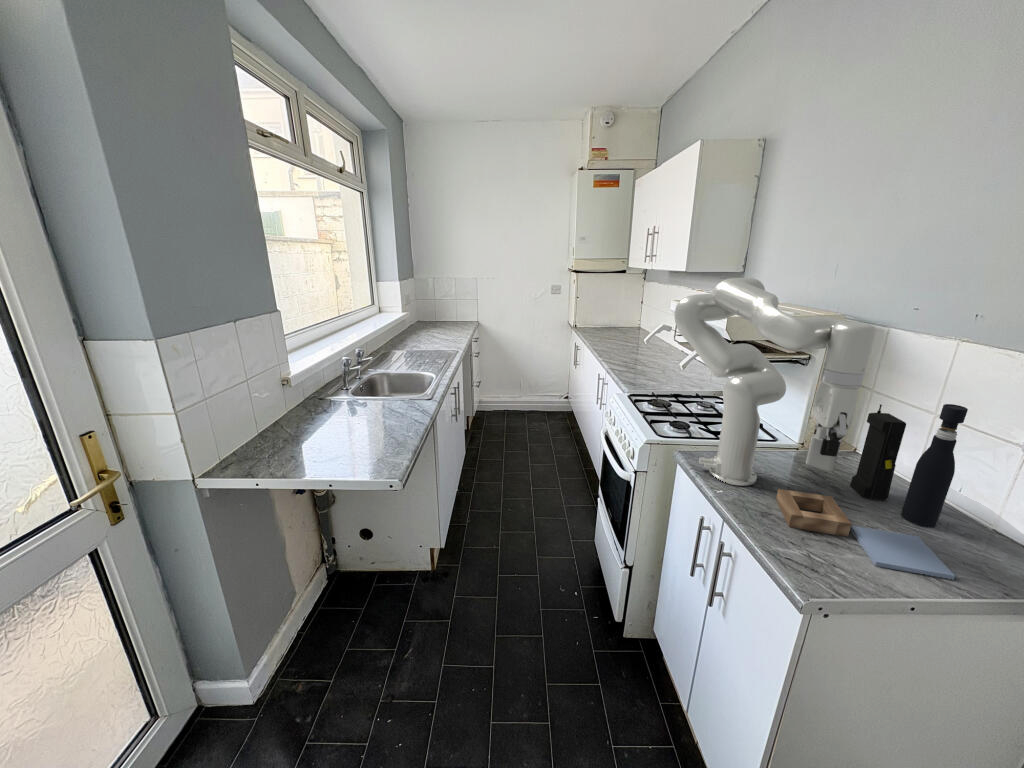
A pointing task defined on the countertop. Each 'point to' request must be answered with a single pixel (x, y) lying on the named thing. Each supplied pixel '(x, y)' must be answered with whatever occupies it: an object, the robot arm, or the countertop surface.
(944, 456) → the black water bottle
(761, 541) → the countertop surface
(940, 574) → the blue square plate
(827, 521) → the walnut collar
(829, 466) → the power adapter
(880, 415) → the portable radio
